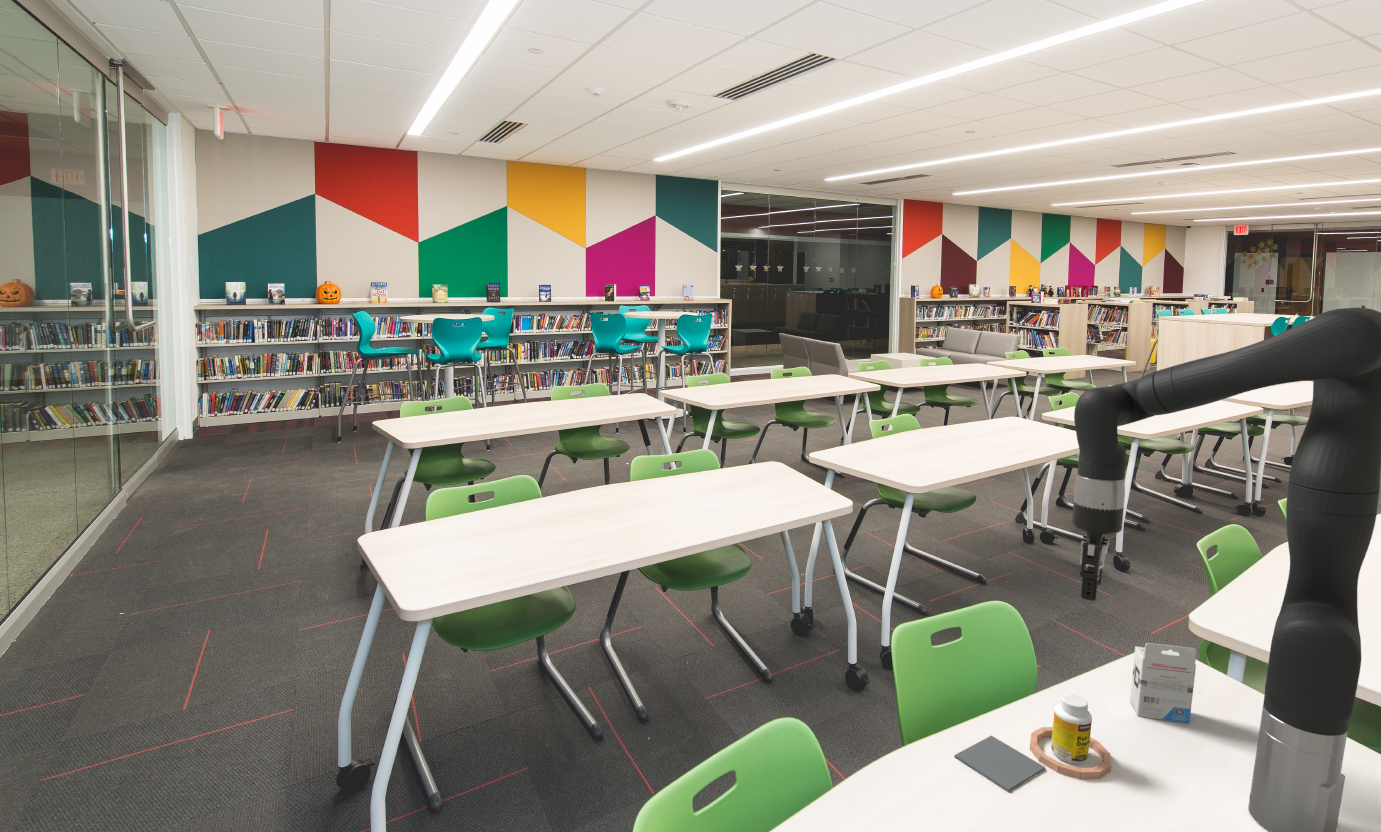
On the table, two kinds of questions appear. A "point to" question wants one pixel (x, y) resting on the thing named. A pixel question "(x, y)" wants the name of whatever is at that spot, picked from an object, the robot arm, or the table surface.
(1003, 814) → the table surface
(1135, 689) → the ink box
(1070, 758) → the supplement bottle
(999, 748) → the mat
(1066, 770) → the faceted open ring
